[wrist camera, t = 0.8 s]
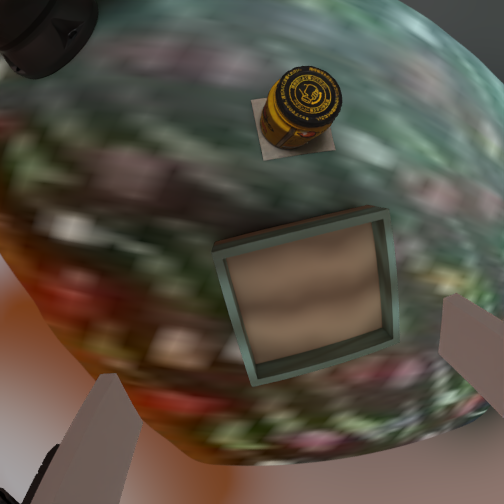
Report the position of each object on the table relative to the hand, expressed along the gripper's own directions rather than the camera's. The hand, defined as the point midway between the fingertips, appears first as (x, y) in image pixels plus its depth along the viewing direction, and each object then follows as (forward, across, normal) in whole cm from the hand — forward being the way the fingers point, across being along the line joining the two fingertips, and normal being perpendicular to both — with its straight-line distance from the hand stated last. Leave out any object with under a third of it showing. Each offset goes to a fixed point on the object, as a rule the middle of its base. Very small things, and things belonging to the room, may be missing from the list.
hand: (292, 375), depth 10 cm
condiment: (+25, +7, +12) cm, 29 cm away
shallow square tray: (+25, +5, -6) cm, 26 cm away
